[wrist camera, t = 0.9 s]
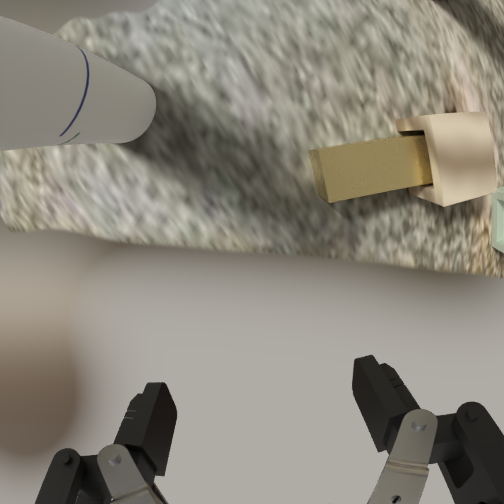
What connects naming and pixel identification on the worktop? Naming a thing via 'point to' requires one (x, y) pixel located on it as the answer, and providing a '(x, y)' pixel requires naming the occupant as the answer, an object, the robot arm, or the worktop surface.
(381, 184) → the long yellowish block
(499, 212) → the cradle
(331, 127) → the worktop surface
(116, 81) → the cylindrical container
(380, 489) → the robot arm
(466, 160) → the beige u-shaped block
